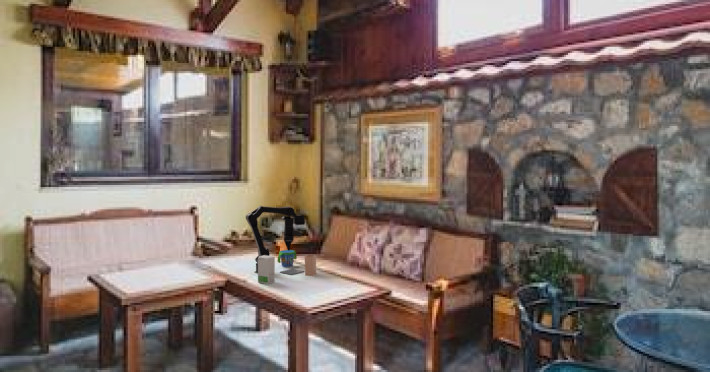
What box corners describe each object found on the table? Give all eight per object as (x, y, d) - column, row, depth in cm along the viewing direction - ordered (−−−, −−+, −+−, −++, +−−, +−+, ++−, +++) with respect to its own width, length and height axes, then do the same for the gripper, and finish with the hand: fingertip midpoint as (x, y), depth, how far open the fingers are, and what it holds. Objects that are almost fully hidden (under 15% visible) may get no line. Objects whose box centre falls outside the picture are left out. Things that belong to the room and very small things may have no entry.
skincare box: (257, 282, 314) (256, 256, 313) (264, 280, 320) (263, 254, 319) (269, 284, 310) (268, 258, 309) (275, 281, 316) (274, 255, 315)
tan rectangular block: (305, 275, 330) (304, 256, 329) (308, 273, 335) (307, 254, 334) (313, 275, 329) (312, 256, 328) (316, 273, 334) (315, 255, 333)
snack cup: (292, 262, 366) (291, 248, 365) (301, 265, 359) (301, 250, 358) (273, 266, 355) (273, 251, 355) (282, 269, 348) (282, 254, 347)
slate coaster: (291, 275, 331) (291, 274, 331) (279, 272, 338) (279, 271, 338) (304, 271, 339) (304, 270, 339) (292, 269, 346) (292, 268, 346)
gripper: (301, 227, 338) (301, 251, 339) (301, 223, 356) (301, 246, 357) (283, 227, 337) (283, 252, 338) (284, 223, 355) (285, 246, 356)
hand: (289, 249), depth 347 cm, fingers open, 9 cm apart
